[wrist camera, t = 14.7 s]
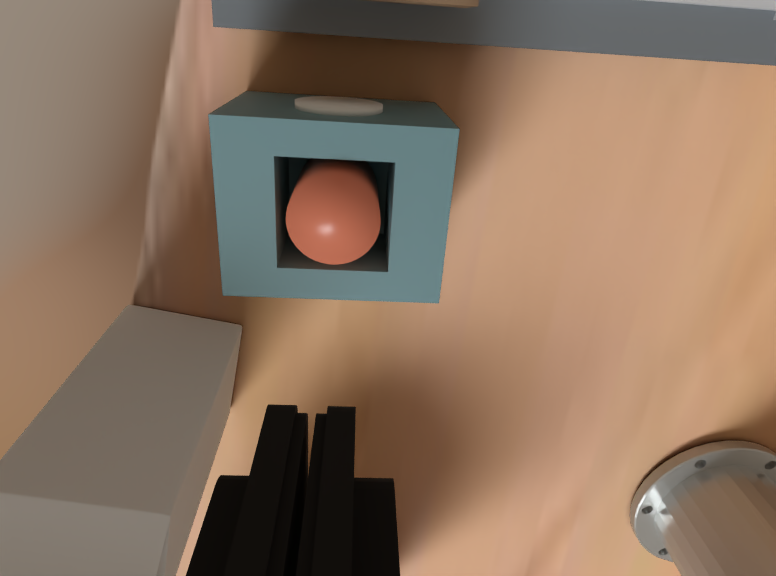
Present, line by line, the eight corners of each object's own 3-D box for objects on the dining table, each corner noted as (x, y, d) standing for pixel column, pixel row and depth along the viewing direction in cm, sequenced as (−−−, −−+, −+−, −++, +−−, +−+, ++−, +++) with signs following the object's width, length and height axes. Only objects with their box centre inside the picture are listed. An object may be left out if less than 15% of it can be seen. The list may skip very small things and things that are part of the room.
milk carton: (128, 302, 34) (-110, 591, 17) (244, 323, 35) (132, 616, 18) (123, 393, 37) (-82, 718, 20) (230, 410, 38) (123, 732, 21)
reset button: (379, 150, 27) (383, 177, 22) (375, 227, 28) (378, 266, 24) (297, 146, 26) (284, 172, 22) (298, 224, 28) (286, 262, 24)
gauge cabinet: (435, 96, 29) (460, 121, 22) (421, 241, 33) (438, 303, 26) (246, 85, 28) (207, 106, 21) (253, 234, 32) (222, 295, 25)
